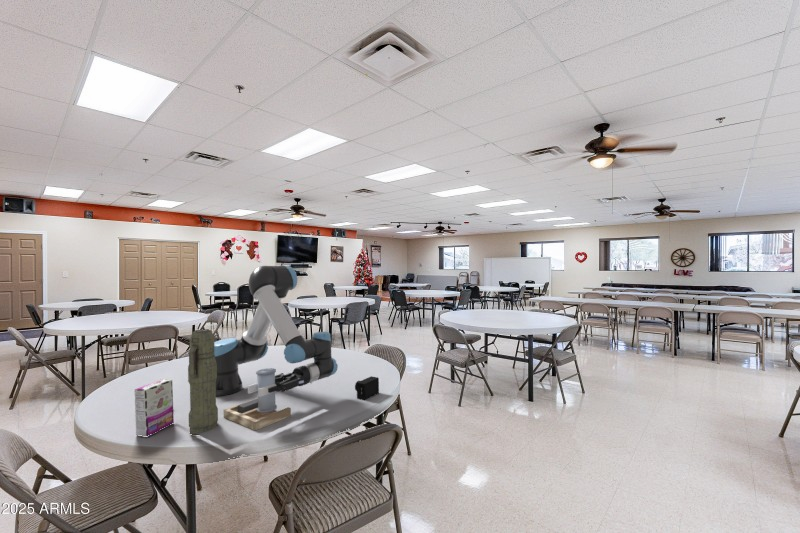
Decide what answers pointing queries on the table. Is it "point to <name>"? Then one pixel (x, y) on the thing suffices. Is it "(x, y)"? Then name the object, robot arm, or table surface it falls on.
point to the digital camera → (367, 387)
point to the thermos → (202, 382)
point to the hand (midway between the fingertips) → (253, 391)
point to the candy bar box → (154, 407)
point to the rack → (255, 417)
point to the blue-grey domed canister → (265, 379)
